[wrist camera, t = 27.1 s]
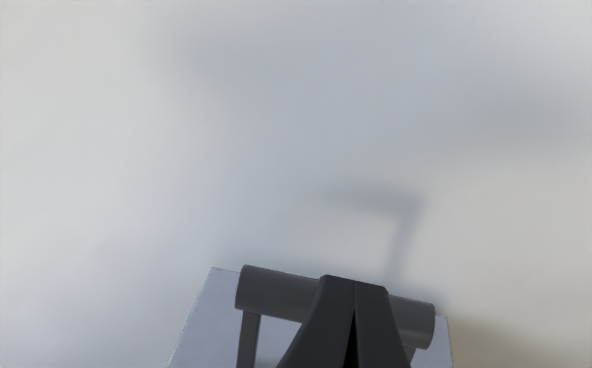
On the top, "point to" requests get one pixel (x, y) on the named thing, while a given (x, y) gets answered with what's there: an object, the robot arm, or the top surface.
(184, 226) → the top surface
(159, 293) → the top surface
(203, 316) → the grey drawer
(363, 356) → the robot arm
